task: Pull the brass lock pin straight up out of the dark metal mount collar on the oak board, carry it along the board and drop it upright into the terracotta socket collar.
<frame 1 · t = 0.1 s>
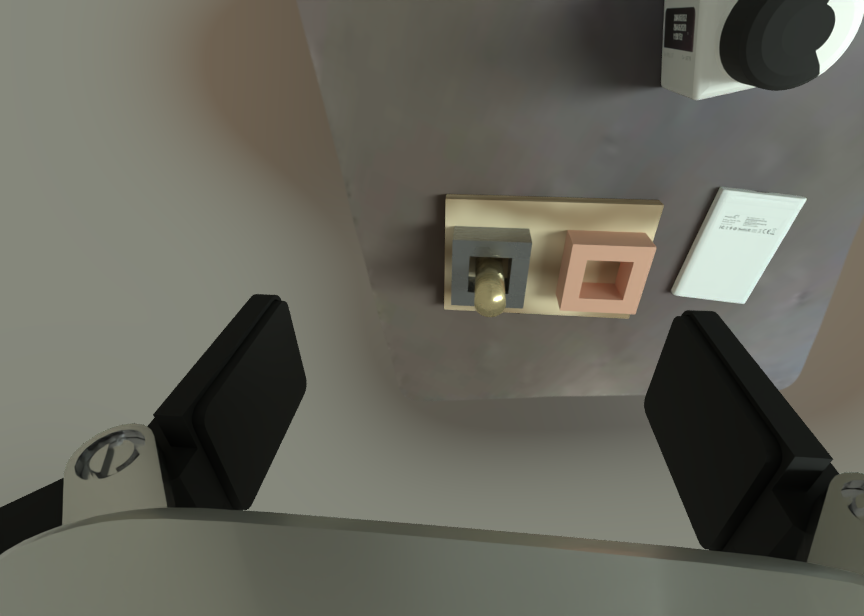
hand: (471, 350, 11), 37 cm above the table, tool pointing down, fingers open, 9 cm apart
container: (710, 26, 36), on the table
socket collar: (598, 264, 47), resting on oak board
external hard drive: (728, 244, 47), on the table
brass pin: (489, 280, 45), in the mount collar, point 6 cm above the table, touching oak board
mount collar: (489, 267, 47), on the oak board, point 3 cm above the table
oak board: (541, 256, 49), on the table
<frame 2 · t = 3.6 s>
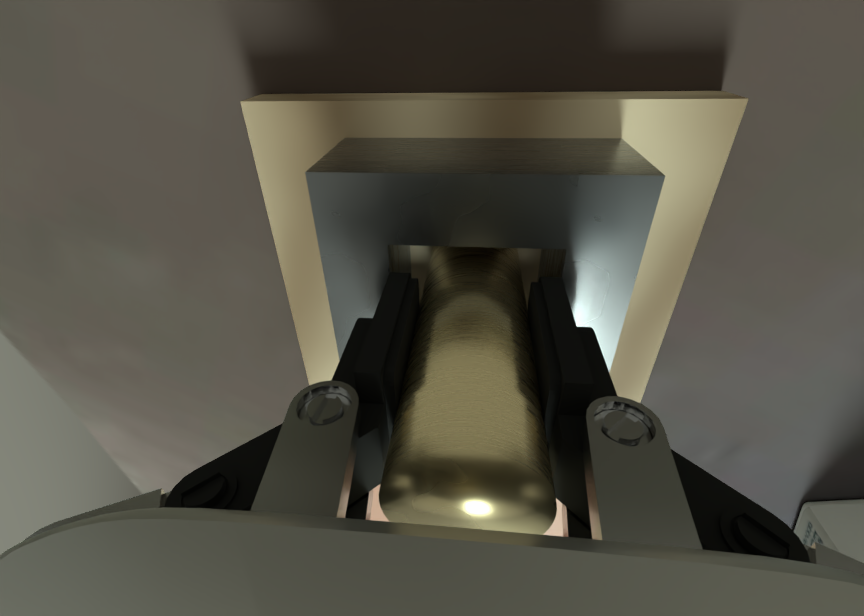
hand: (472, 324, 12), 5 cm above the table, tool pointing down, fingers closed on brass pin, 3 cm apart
socket collar: (465, 475, 21), resting on oak board
brass pin: (471, 342, 11), in the mount collar, point 6 cm above the table, touching gripper, oak board
mount collar: (473, 286, 13), on the oak board, point 3 cm above the table
oak board: (470, 364, 19), on the table
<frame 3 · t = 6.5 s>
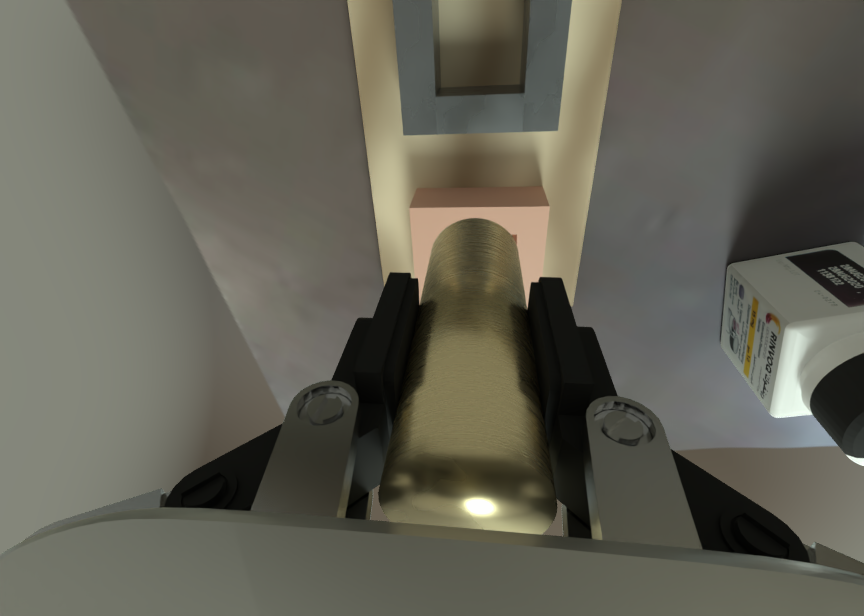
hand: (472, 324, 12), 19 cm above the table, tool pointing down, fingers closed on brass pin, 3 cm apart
container: (779, 295, 31), on the table
socket collar: (478, 244, 30), resting on oak board
brass pin: (471, 341, 11), point 20 cm above the table, touching gripper
mount collar: (480, 41, 22), on the oak board, point 3 cm above the table
oak board: (479, 149, 28), on the table
when the fingers open (6 cm above the table, at t = 9.4 s): brass pin stays where it is, resting on oak board.
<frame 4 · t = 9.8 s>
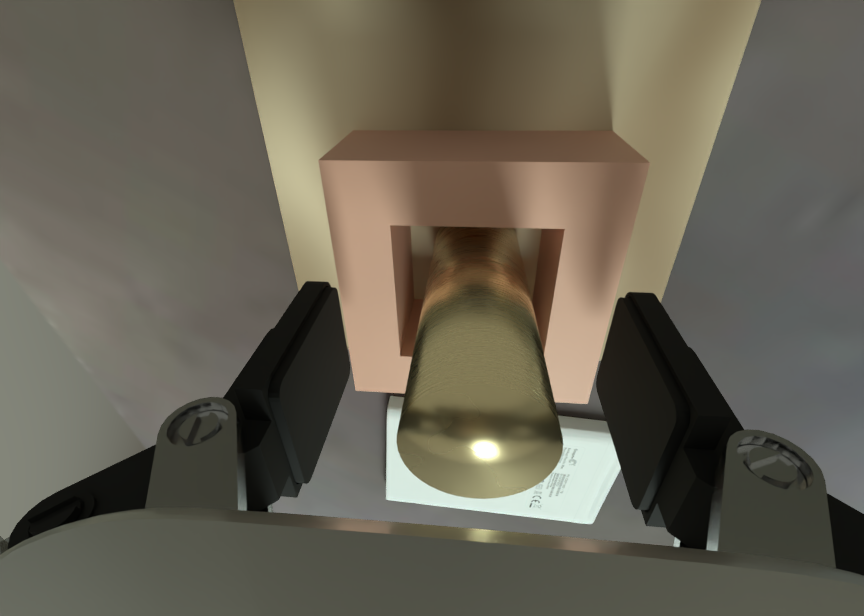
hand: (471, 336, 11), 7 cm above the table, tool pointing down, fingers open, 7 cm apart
socket collar: (474, 247, 16), resting on oak board
external hard drive: (496, 448, 25), on the table
brass pin: (476, 315, 12), in the socket collar, point 6 cm above the table, touching oak board
oak board: (482, 52, 13), on the table
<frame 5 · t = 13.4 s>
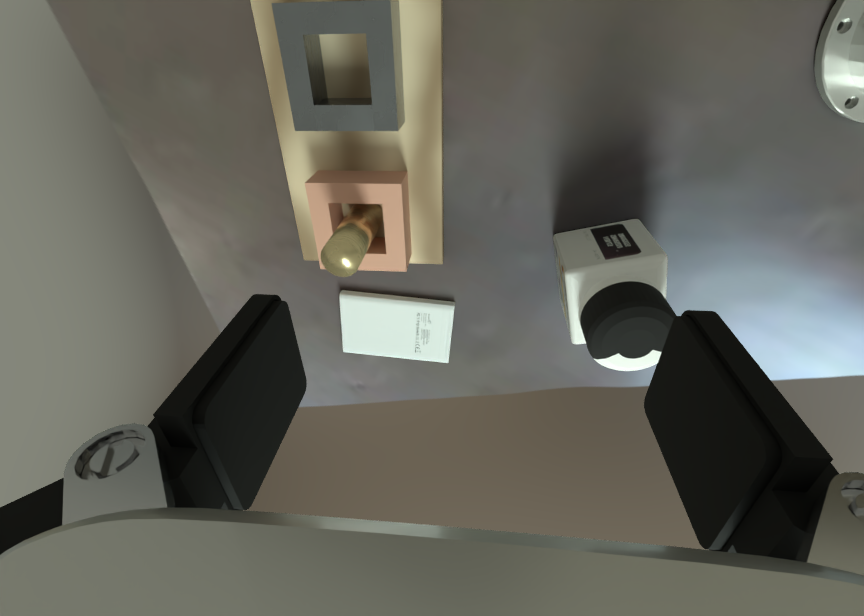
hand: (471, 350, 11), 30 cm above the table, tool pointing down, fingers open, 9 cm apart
container: (596, 260, 42), on the table
socket collar: (367, 214, 40), resting on oak board
external hard drive: (398, 322, 49), on the table
brass pin: (355, 234, 36), in the socket collar, point 6 cm above the table, touching oak board
mount collar: (345, 68, 32), on the oak board, point 3 cm above the table
oak board: (363, 142, 38), on the table
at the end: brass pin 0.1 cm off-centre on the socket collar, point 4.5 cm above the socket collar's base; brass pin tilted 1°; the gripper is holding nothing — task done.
